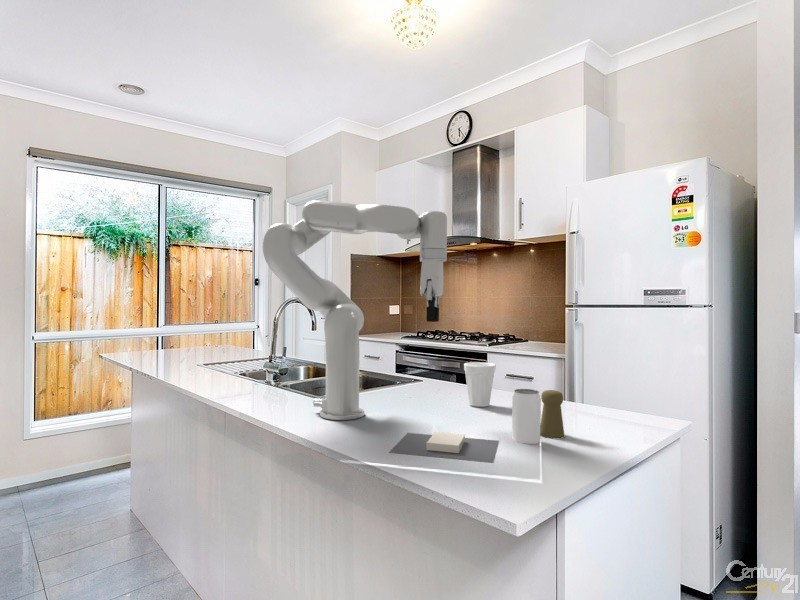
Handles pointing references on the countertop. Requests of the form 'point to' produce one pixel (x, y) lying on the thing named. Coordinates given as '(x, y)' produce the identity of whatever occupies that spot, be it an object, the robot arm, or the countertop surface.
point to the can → (526, 416)
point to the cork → (552, 415)
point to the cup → (479, 382)
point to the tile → (446, 442)
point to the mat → (469, 451)
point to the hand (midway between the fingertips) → (432, 321)
